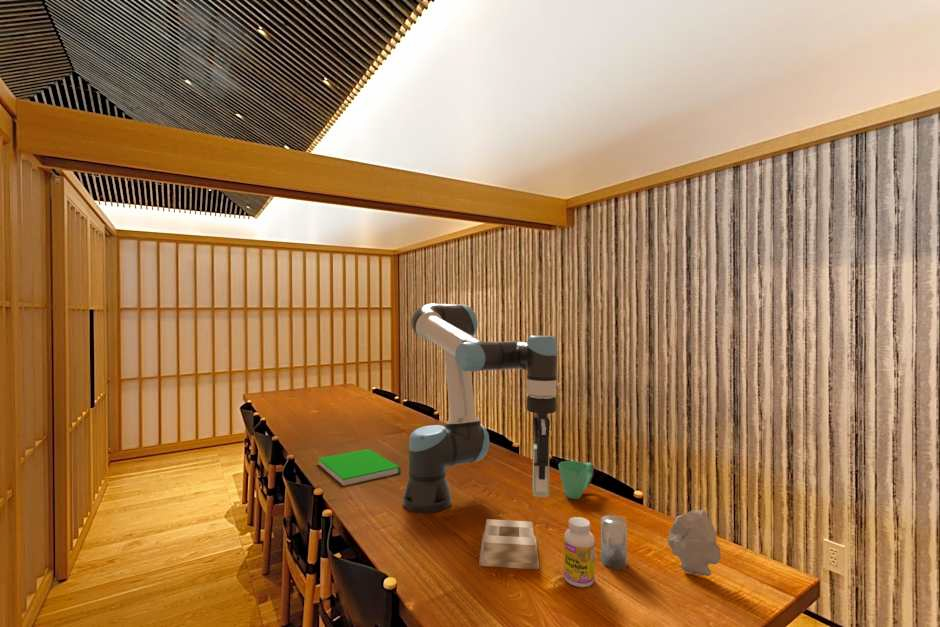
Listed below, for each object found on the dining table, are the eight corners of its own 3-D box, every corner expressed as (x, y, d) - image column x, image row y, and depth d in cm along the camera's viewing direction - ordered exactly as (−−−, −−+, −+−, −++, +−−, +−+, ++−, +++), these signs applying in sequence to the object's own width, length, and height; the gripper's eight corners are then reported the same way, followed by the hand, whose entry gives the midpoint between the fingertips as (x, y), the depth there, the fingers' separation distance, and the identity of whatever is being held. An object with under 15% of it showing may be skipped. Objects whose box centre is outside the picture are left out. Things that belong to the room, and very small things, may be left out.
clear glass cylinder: (603, 568, 99) (604, 525, 99) (598, 555, 105) (598, 514, 105) (629, 570, 98) (629, 526, 99) (622, 556, 104) (623, 515, 104)
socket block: (479, 565, 100) (479, 544, 100) (482, 536, 114) (483, 517, 114) (539, 569, 98) (539, 547, 98) (535, 539, 112) (535, 520, 112)
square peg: (533, 496, 106) (534, 448, 107) (532, 490, 110) (533, 444, 110) (548, 497, 106) (549, 449, 106) (547, 491, 110) (547, 444, 110)
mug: (575, 504, 134) (575, 472, 134) (552, 494, 142) (552, 464, 142) (603, 494, 143) (604, 464, 143) (580, 484, 151) (580, 456, 151)
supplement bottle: (559, 582, 94) (559, 523, 94) (569, 567, 99) (569, 512, 100) (589, 592, 90) (589, 531, 90) (597, 577, 96) (598, 519, 96)
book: (342, 487, 147) (342, 478, 147) (317, 465, 170) (317, 458, 170) (400, 474, 161) (400, 466, 161) (370, 455, 183) (370, 448, 183)
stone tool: (665, 569, 99) (665, 504, 99) (669, 562, 102) (669, 499, 102) (719, 588, 92) (719, 518, 92) (722, 580, 95) (721, 512, 95)
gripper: (561, 402, 100) (559, 502, 100) (552, 390, 117) (551, 476, 116) (529, 401, 101) (527, 500, 100) (525, 390, 117) (523, 474, 117)
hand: (540, 487), depth 108 cm, fingers closed on square peg, 4 cm apart
